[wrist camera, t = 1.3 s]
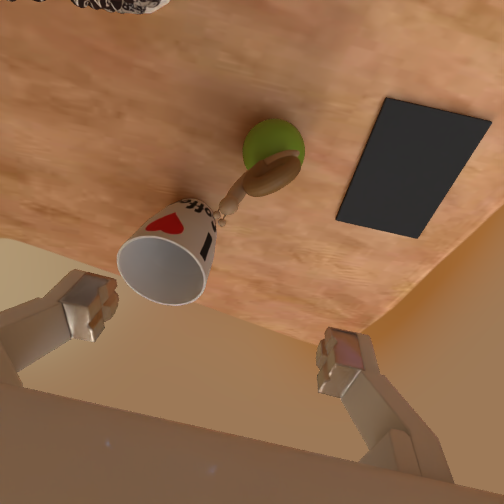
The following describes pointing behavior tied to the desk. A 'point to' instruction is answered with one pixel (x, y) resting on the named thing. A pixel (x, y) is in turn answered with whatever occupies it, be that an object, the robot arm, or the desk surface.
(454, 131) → the mat
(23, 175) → the desk surface
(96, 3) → the black-white patterned cylinder
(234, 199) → the snail figurine
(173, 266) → the cup
